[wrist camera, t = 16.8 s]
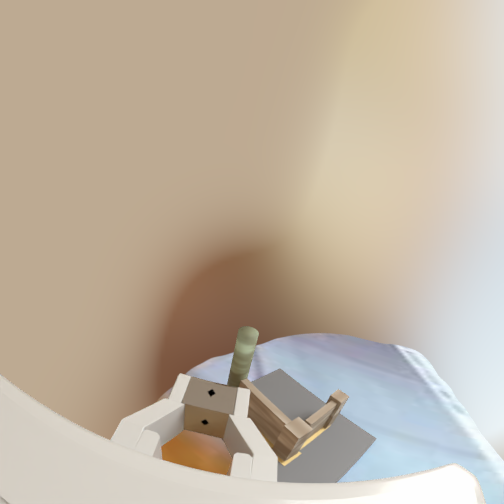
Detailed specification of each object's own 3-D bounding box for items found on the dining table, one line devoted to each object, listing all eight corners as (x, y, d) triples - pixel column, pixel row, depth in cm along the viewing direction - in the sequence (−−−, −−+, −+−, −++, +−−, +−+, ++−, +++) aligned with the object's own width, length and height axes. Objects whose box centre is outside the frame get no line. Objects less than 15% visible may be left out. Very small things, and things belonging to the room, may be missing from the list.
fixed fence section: (332, 422, 41) (349, 396, 39) (300, 449, 35) (315, 424, 33) (323, 415, 43) (338, 389, 41) (289, 440, 37) (304, 414, 35)
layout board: (375, 439, 38) (376, 438, 37) (302, 512, 24) (303, 511, 23) (279, 369, 55) (280, 368, 55) (195, 405, 41) (195, 404, 41)
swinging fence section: (284, 461, 32) (319, 401, 28) (221, 395, 44) (234, 328, 40) (297, 452, 34) (334, 391, 30) (234, 390, 46) (250, 324, 42)
